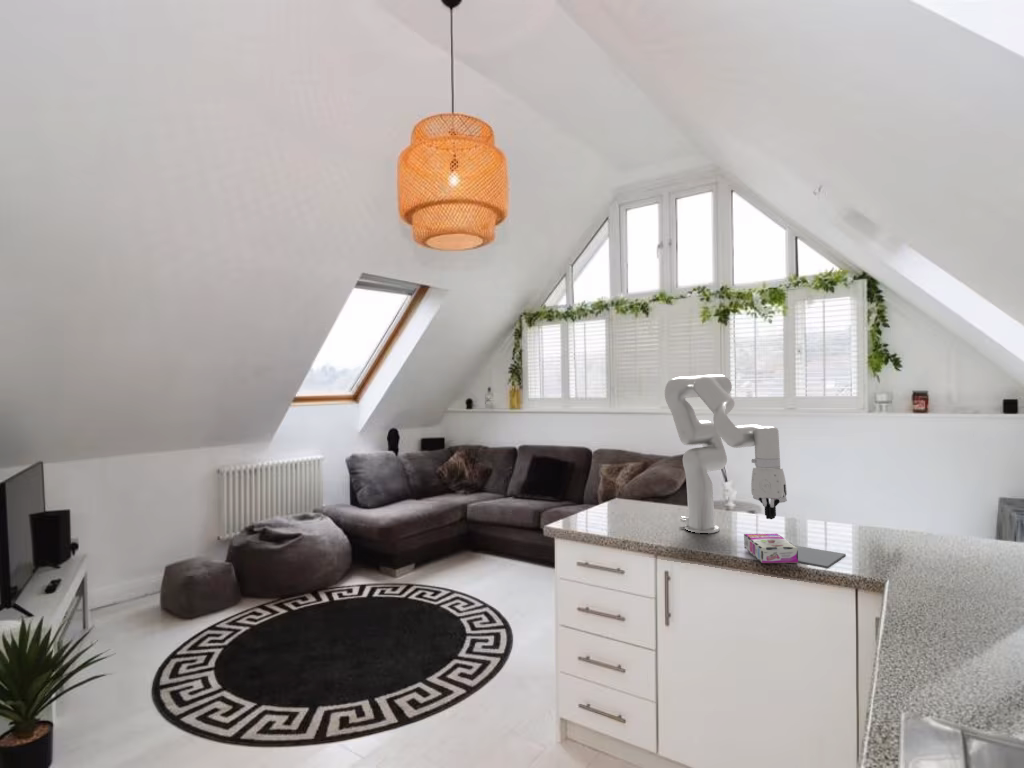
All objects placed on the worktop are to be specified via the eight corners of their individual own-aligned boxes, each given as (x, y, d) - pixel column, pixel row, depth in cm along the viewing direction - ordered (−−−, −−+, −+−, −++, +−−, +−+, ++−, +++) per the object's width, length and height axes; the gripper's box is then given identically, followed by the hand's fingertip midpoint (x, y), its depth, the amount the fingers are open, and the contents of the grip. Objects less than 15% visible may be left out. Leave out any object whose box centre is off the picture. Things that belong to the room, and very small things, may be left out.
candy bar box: (743, 548, 188) (761, 563, 172) (743, 533, 188) (760, 547, 172) (778, 548, 187) (799, 563, 171) (777, 533, 187) (798, 546, 171)
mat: (760, 555, 182) (760, 553, 182) (780, 544, 193) (780, 543, 193) (827, 567, 167) (827, 566, 167) (845, 555, 178) (845, 553, 178)
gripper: (740, 463, 190) (743, 517, 190) (786, 466, 179) (789, 523, 179) (750, 460, 195) (753, 513, 195) (795, 463, 184) (798, 519, 184)
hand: (770, 518), depth 187 cm, fingers closed
